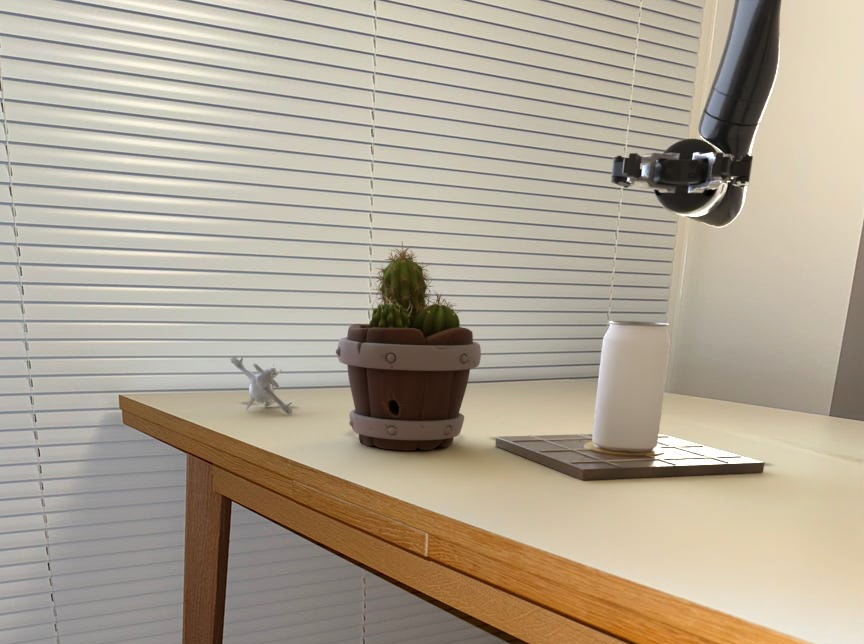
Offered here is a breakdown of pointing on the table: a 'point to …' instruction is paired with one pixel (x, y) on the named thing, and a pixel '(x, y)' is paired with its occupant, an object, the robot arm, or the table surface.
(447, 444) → the flowerpot
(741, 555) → the table surface
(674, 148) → the robot arm
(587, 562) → the table surface
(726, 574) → the table surface
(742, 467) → the board
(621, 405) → the can
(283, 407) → the spiky grey figurine
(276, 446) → the table surface
